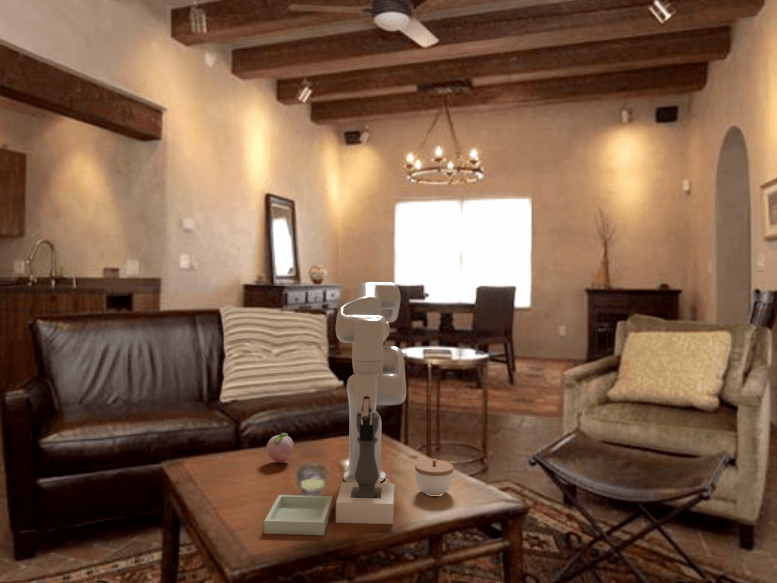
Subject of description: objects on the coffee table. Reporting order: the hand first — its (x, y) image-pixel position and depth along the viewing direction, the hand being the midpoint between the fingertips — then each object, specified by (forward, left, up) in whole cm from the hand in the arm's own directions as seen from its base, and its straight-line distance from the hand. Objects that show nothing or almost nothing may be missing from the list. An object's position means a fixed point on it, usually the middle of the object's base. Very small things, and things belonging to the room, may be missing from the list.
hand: (367, 436), depth 151 cm
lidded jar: (-14, +18, -20) cm, 30 cm away
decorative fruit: (-36, -30, -20) cm, 51 cm away
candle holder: (0, 0, -20) cm, 20 cm away
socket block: (0, 0, -19) cm, 19 cm away
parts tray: (+6, -16, -19) cm, 26 cm away
